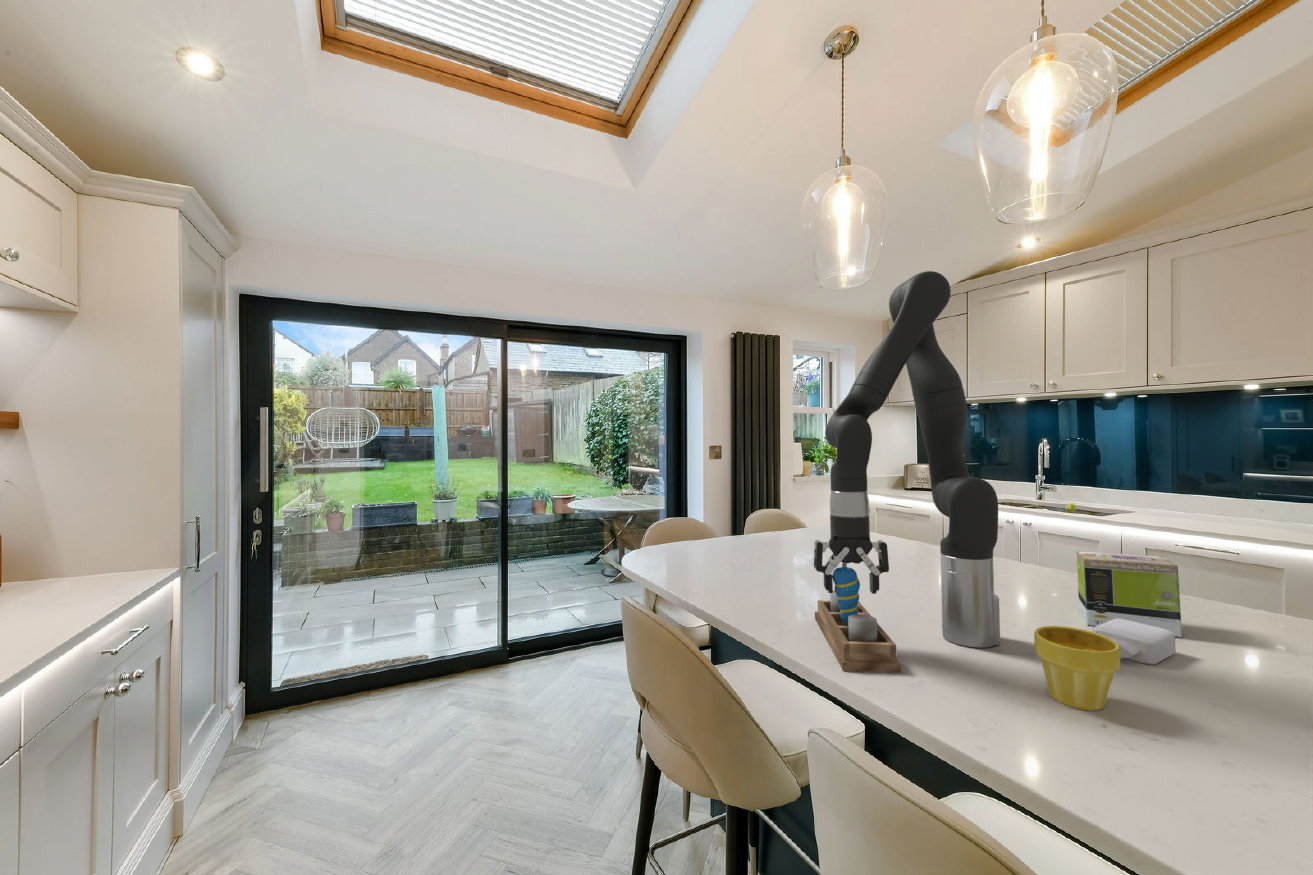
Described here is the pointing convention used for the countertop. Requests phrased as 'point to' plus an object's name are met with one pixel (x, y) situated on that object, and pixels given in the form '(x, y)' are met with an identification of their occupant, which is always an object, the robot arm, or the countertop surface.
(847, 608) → the ornament
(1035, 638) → the plant pot
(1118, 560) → the tea box
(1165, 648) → the charger
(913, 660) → the countertop surface
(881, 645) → the wooden compartment tray
